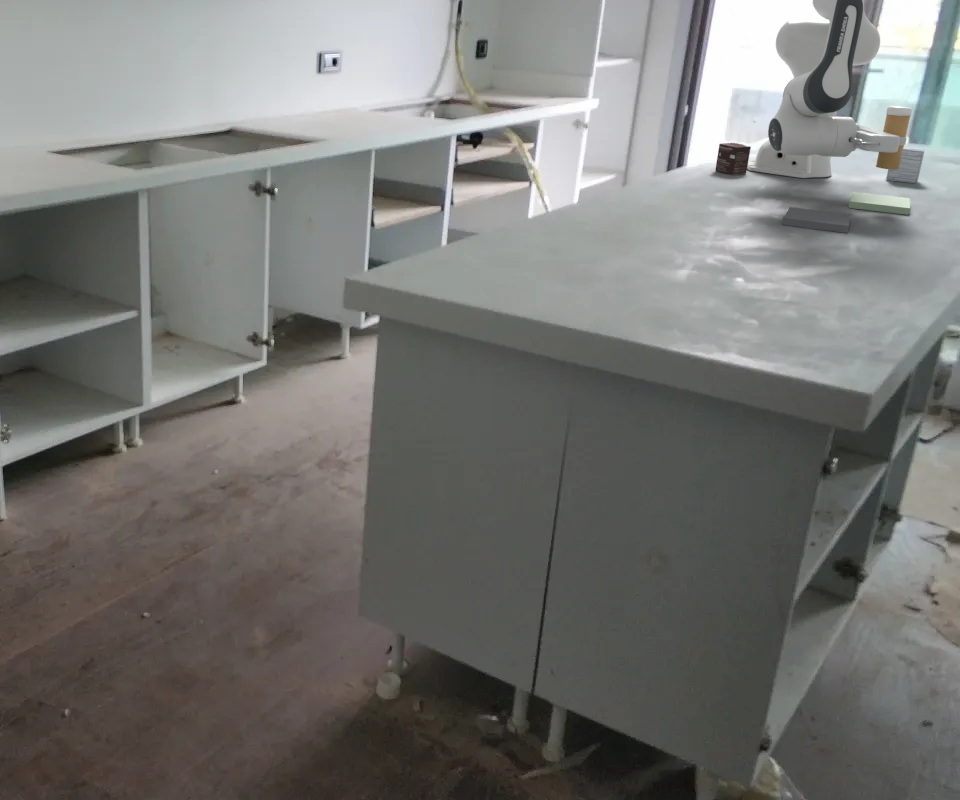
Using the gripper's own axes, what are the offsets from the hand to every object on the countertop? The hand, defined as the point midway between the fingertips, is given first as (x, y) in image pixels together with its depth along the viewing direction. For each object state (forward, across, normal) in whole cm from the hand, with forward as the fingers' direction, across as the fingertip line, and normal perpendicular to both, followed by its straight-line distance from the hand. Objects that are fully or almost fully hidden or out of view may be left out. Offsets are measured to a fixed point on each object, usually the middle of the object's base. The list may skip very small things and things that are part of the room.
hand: (897, 138), depth 221 cm
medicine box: (+24, +34, +15) cm, 44 cm away
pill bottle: (-1, 0, +6) cm, 7 cm away
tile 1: (-25, -18, +16) cm, 35 cm away
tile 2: (-1, 0, +16) cm, 16 cm away
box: (-22, +40, +16) cm, 48 cm away
